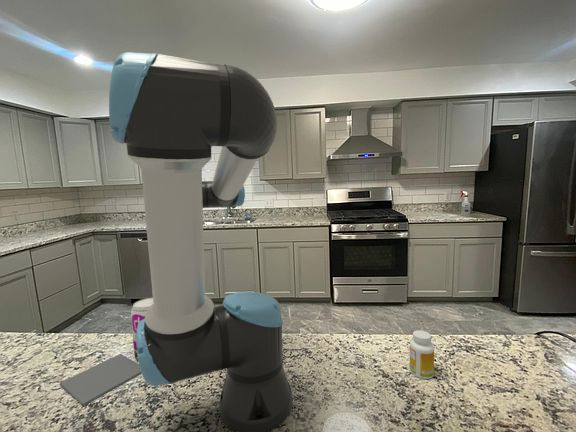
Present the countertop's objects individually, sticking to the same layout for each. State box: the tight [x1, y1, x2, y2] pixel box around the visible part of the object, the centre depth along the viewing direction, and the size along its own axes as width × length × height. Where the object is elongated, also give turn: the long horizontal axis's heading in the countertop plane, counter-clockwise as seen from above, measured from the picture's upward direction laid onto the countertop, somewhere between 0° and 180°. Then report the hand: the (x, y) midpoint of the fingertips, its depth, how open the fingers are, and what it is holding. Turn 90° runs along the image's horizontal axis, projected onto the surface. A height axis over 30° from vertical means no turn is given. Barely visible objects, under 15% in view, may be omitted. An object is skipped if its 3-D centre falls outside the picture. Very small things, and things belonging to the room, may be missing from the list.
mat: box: [59, 353, 142, 407], centre depth 68 cm, size 13×14×1 cm
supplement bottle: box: [409, 330, 435, 380], centre depth 67 cm, size 5×5×10 cm
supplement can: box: [130, 297, 153, 360], centre depth 78 cm, size 8×8×15 cm
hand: (181, 301), depth 87 cm, fingers closed
